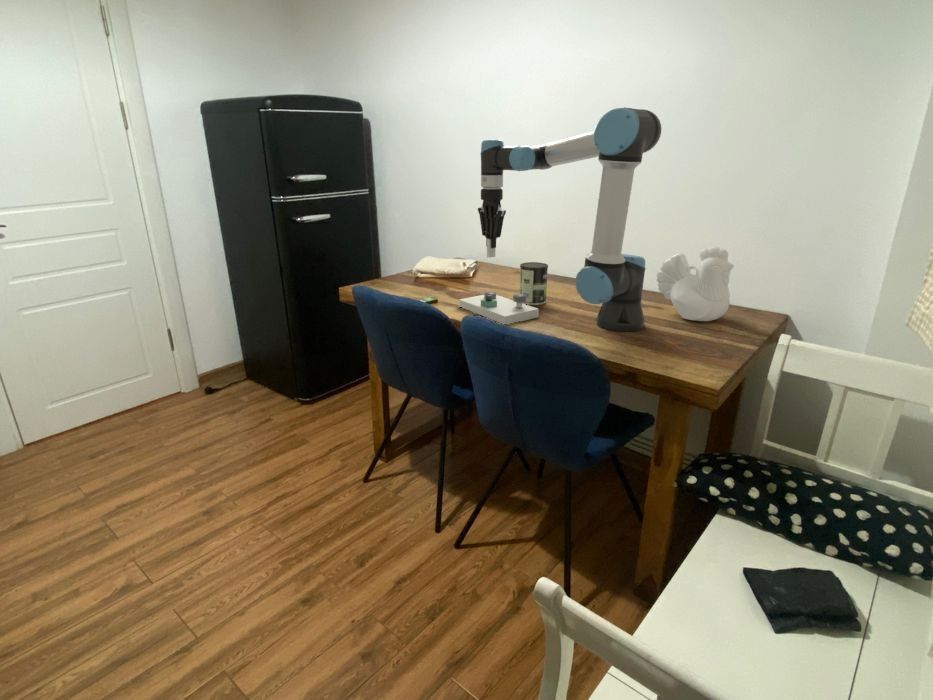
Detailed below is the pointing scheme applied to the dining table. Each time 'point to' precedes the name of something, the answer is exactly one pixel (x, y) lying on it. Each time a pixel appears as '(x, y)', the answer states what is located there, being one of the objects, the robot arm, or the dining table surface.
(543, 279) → the coffee can
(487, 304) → the knob
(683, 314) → the decorative rooster
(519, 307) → the knob near
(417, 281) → the dining table surface
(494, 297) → the knob far
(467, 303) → the panel
